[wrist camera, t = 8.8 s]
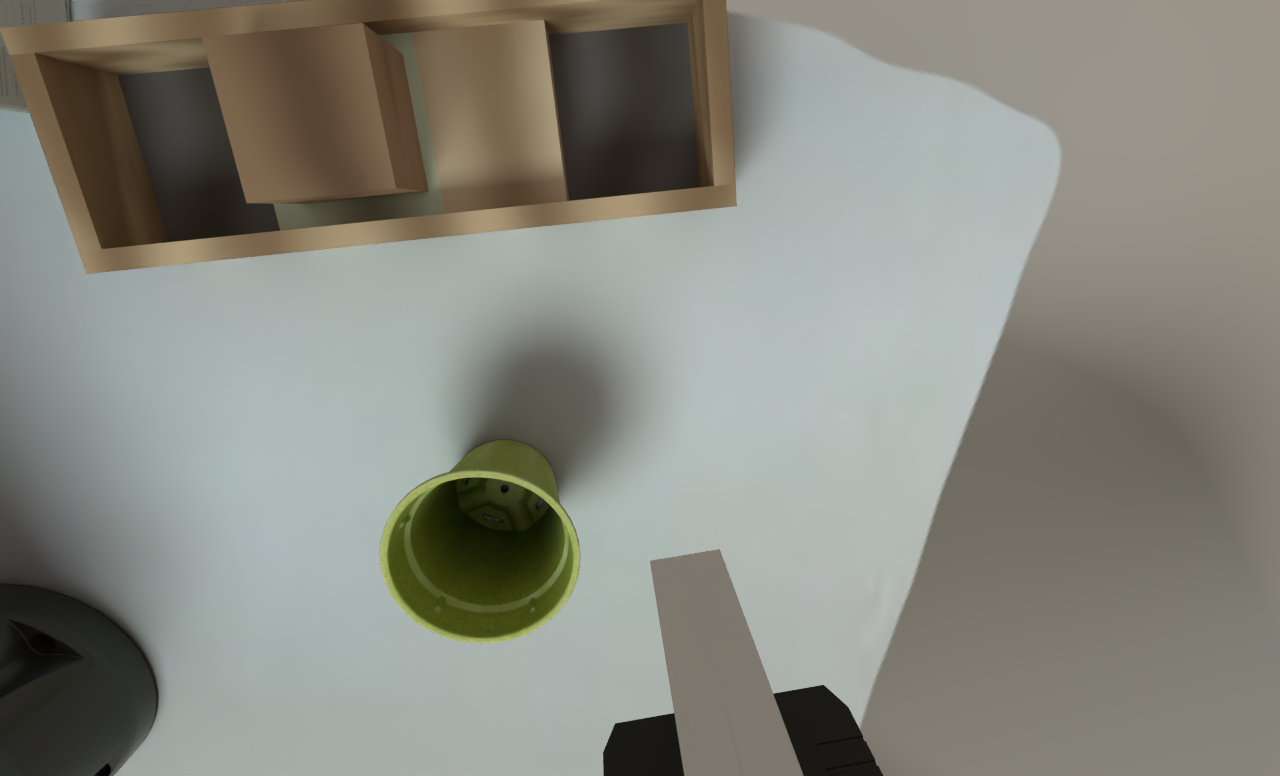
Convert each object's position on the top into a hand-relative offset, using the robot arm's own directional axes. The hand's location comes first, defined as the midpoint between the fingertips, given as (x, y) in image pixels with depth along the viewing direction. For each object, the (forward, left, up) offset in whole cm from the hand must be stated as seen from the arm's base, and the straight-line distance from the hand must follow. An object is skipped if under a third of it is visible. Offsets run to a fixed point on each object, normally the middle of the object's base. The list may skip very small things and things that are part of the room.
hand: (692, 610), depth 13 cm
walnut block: (-12, +13, -21) cm, 27 cm away
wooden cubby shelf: (-10, +13, -24) cm, 29 cm away
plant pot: (-9, -7, -24) cm, 26 cm away
